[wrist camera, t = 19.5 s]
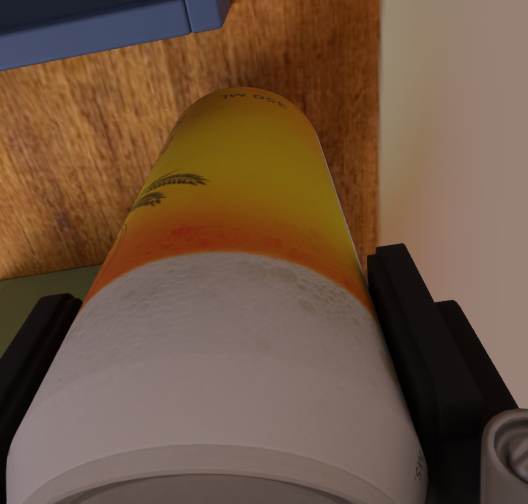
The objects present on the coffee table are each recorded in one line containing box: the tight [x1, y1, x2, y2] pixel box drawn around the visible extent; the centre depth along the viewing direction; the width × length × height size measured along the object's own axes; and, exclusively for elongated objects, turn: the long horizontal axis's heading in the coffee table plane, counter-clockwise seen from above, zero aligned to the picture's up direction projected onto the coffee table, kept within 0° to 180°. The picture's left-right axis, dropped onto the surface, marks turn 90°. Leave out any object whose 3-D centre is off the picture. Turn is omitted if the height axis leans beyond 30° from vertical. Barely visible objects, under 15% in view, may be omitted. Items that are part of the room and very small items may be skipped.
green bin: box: [0, 264, 103, 359], centre depth 23 cm, size 14×14×7 cm
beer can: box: [6, 87, 428, 504], centre depth 12 cm, size 6×6×15 cm
